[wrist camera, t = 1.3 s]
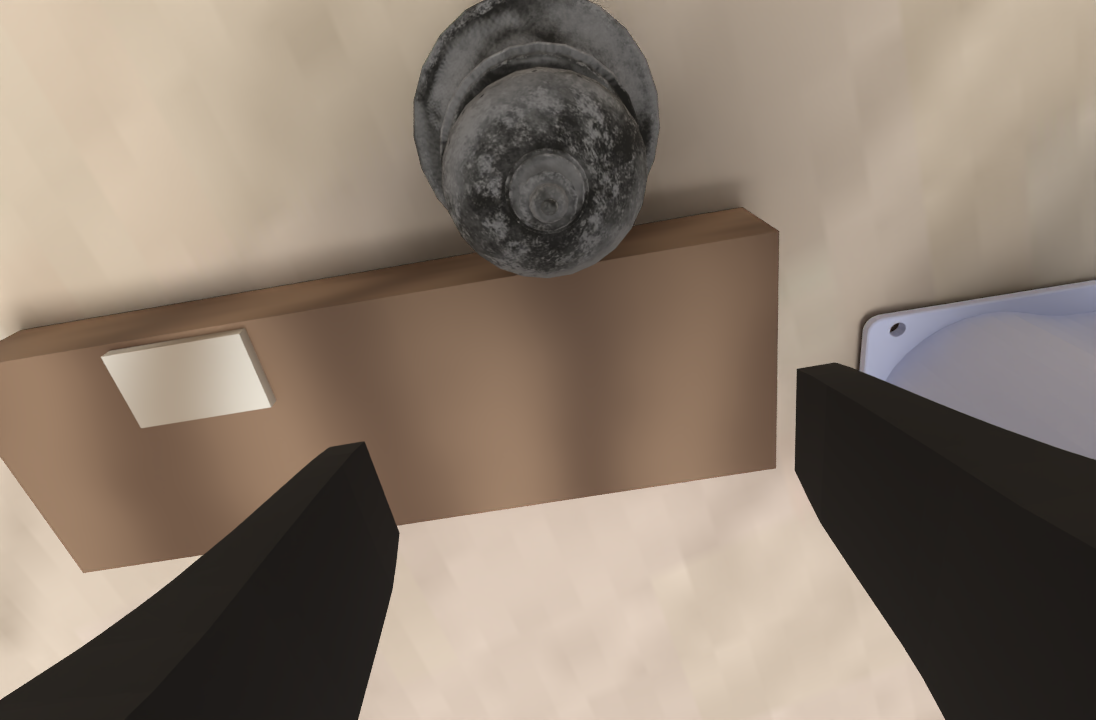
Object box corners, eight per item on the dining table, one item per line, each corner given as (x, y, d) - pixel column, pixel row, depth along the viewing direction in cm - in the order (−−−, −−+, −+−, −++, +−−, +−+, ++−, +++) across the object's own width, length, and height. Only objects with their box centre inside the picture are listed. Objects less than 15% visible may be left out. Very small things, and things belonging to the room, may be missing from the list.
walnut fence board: (742, 207, 19) (784, 235, 16) (745, 419, 22) (780, 475, 19) (20, 330, 20) (-73, 379, 17) (134, 514, 23) (75, 581, 20)
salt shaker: (401, 43, 16) (158, 0, 6) (607, -30, 16) (785, -234, 5) (474, 243, 19) (405, 479, 8) (654, 187, 18) (837, 363, 7)
